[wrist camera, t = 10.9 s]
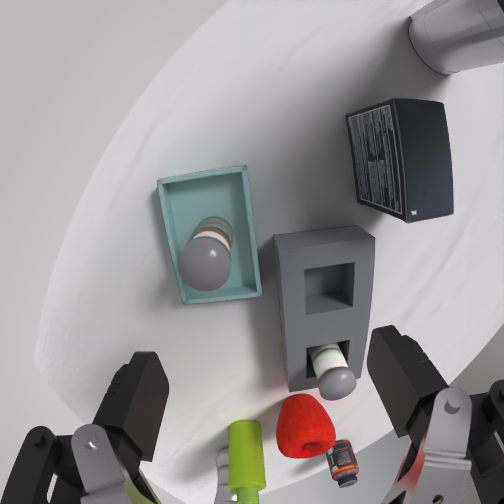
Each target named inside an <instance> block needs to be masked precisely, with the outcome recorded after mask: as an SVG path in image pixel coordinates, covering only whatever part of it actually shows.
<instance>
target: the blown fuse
mask: <svg viewBox="0 0 504 504" xmlns="http://www.w3.org/2000/svg"><path fill="white" fill-rule="evenodd" d="M233 239H234V233H233V229H232V227H231V225H230V224H229V223H228V222H227V221H226V220H224V219H223V218H220V217H208V218H206V219H204V220H202V221H201V222H200V223H199V225H198V226H197V228H196V229H195V232H194V235H193V237H192V239H191V241H189V242H188V243H187V244H186V246H185V247H184V249H183V251H182V252H181V254H180V256H179V259H178V272H179V274H180V277H181V278H182V280H183V281H184V282H185V283H186V284H187V285H188V286H189V287H191V288H193V289H195V290H198V291H213V290H216V289H218V288H220V287H221V286H222V285H224V284H225V283H226V281H227V280H228V278H229V275H230V271H231V255H230V253H231V248H232V245H233Z"/></svg>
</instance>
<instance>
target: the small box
mask: <svg viewBox="0 0 504 504" xmlns="http://www.w3.org/2000/svg"><path fill="white" fill-rule="evenodd" d="M346 120H347V126H348V132H349V138H350V145H351V151H352V158H353V165H354V174H355V183H356V191H357V202H358V203H359V204H361V205H366V206H369V207H372V208H374V209H376V210H379V211H382V212H384V213H387V214H389V215H391V216H394V217H396V218H399V219H401V220H403V221H404V222H406V223H412V222H417V221H422V220H428V219H433V218H438V217H443V216H448V215H453V213H454V205H453V204H454V199H453V175H452V161H451V150H450V142H449V134H448V127H447V121H446V115H445V109H444V104H443V103H441V102H436V101H428V100H419V99H407V98H392V99H389V100H388V101H385V102H383V103H379V104H377V105H373V106H370V107H367V108H364V109H361V110H359V111H356V112H353V113H348V114H346Z"/></svg>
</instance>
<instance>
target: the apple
mask: <svg viewBox="0 0 504 504" xmlns="http://www.w3.org/2000/svg"><path fill="white" fill-rule="evenodd" d="M276 438H277V445H278V449H279V450H280V452H281V453H282V454H283V455H284V456H286V457H290V458H298V459H299V458H311V457H315V456H317V455H320V454H323V453H325V452H326V451H328V450H329V449H330V448H332V447H333V445H334V444H335V439H336V434H335V428H334V426H333V423H332V421H331V419H330V417H329V416H328V414H327V412H326V411H325V409H324V408H323V406H322V405H321V404H320V403H319V402H318V401H317V400H316V399H315V398H314V397H313V396H311V395H308V394H298V395H295V396H292V397H290V398H288V399H287V400H286V401H285V402H284V404H283V407H282V409H281V412H280V415H279V419H278V423H277V430H276Z"/></svg>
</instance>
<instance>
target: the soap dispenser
mask: <svg viewBox="0 0 504 504" xmlns="http://www.w3.org/2000/svg"><path fill="white" fill-rule="evenodd" d="M228 487H229V489H231V490H233V491H236V498H237V504H259V495H258V491H259V490H262V489H264V488H265V487H266V481H265V468H264V456H263V444H262V431H261V425H260V424H259V423H257V422H255V421H251V420H240V421H236V422H234V423H232V424H231V425H230V426H229V469H228Z"/></svg>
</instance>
